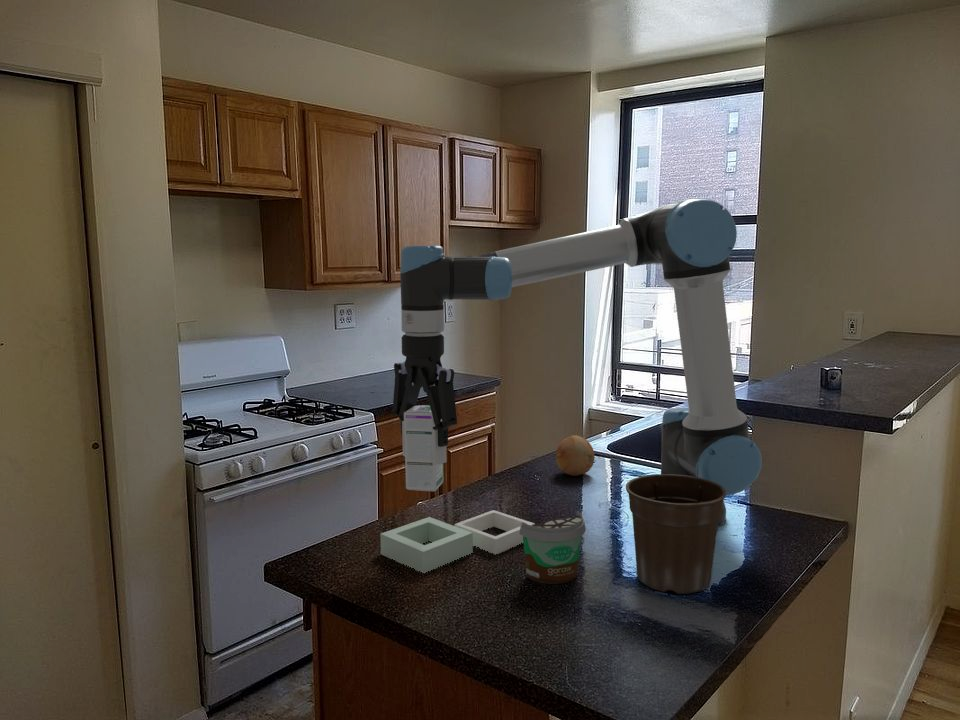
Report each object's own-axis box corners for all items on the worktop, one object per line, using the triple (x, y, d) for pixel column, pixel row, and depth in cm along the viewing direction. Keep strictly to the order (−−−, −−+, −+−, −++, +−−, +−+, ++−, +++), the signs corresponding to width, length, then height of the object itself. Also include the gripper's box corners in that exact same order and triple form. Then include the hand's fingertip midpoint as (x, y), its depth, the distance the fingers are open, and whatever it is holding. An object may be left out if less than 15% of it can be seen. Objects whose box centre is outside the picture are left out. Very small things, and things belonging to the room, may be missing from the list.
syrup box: (436, 492, 130) (435, 412, 128) (404, 489, 131) (403, 410, 129) (444, 482, 136) (443, 405, 134) (413, 480, 137) (412, 404, 135)
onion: (584, 483, 176) (585, 442, 175) (548, 476, 182) (548, 437, 180) (601, 473, 184) (601, 434, 183) (565, 467, 190) (566, 429, 188)
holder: (534, 538, 142) (534, 523, 142) (495, 554, 135) (495, 539, 134) (493, 524, 150) (493, 510, 150) (454, 538, 142) (454, 524, 142)
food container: (538, 593, 119) (538, 534, 118) (519, 578, 125) (519, 522, 123) (599, 577, 125) (600, 521, 124) (578, 564, 130) (579, 510, 129)
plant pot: (603, 574, 126) (605, 484, 124) (665, 551, 136) (668, 467, 133) (679, 610, 113) (682, 510, 111) (742, 583, 123) (746, 490, 120)
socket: (472, 553, 135) (472, 532, 135) (423, 573, 127) (423, 551, 126) (429, 536, 144) (429, 516, 143) (380, 554, 135) (380, 533, 135)
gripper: (370, 331, 134) (373, 452, 137) (446, 339, 120) (447, 475, 123) (402, 328, 139) (404, 445, 142) (478, 336, 125) (478, 465, 128)
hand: (424, 458), depth 133 cm, fingers closed on syrup box, 7 cm apart
